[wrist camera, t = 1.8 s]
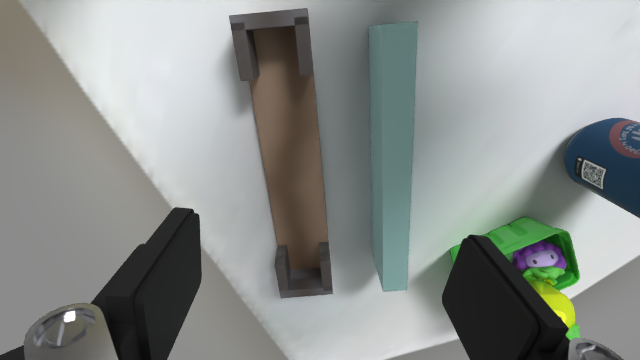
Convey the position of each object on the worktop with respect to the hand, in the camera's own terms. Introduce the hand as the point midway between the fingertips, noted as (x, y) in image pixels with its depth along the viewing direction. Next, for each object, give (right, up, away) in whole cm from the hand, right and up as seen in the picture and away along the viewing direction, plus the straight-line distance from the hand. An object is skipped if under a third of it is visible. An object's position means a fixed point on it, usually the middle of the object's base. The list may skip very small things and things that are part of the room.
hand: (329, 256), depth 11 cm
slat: (+6, +5, +21) cm, 22 cm away
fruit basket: (+20, -6, +26) cm, 33 cm away
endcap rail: (-3, +4, +21) cm, 21 cm away
